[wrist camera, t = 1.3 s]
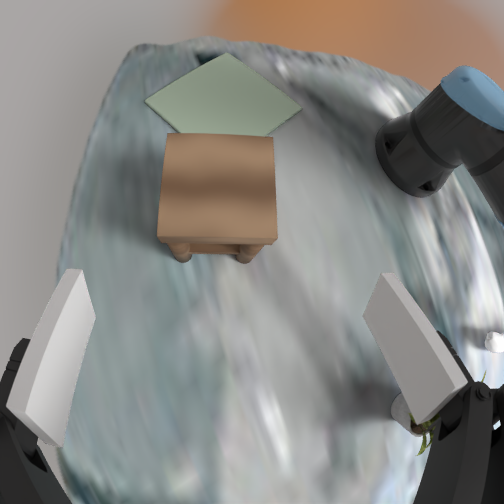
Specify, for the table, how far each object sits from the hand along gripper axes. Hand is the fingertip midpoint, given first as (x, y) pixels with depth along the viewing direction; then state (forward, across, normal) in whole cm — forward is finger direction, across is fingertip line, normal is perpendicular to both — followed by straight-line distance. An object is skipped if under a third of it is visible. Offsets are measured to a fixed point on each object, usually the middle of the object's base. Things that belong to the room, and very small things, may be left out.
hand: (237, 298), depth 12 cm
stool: (+25, 0, -10) cm, 27 cm away
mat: (+39, +1, +5) cm, 40 cm away
